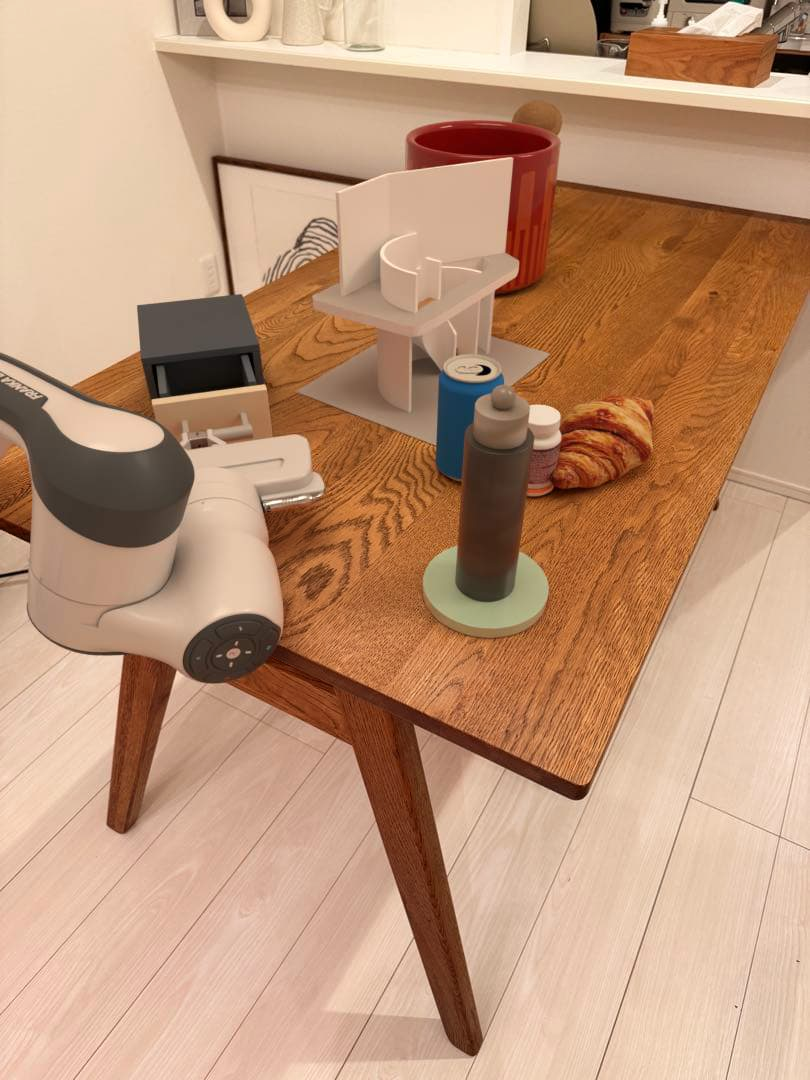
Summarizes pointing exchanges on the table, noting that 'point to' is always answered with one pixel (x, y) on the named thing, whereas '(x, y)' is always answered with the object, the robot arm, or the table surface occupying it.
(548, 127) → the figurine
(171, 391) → the drawer
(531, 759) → the table surface
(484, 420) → the pepper mill
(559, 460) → the croissant
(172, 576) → the robot arm
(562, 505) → the table surface
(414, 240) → the architectural model
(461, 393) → the beverage can
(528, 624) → the disc
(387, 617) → the table surface
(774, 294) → the table surface
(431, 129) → the planter
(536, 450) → the pill bottle
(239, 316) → the cabinet
